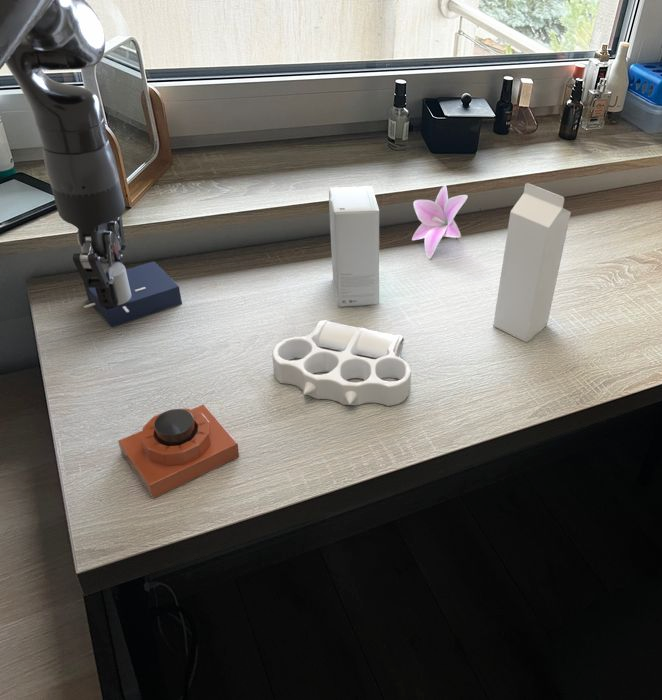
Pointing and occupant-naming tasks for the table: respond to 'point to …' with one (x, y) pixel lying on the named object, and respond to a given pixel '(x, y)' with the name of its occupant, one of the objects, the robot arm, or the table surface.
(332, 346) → the white brass knuckles
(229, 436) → the button base
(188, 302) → the table surface
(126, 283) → the dial
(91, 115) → the robot arm
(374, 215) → the cosmetic box
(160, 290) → the dial panel
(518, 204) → the milk
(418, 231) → the lily
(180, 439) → the dark grey short cylinder
